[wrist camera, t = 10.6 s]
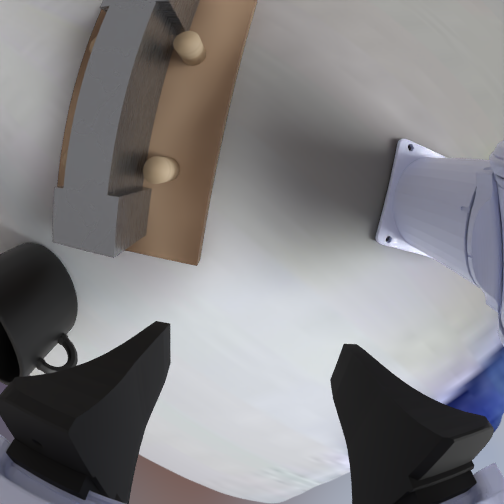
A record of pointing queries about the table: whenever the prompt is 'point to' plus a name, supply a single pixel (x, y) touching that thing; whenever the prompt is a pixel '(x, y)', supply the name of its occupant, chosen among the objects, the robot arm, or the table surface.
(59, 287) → the mug
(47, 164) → the table surface
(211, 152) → the peg rack
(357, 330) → the table surface
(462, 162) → the robot arm
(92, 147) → the gray notched long block
